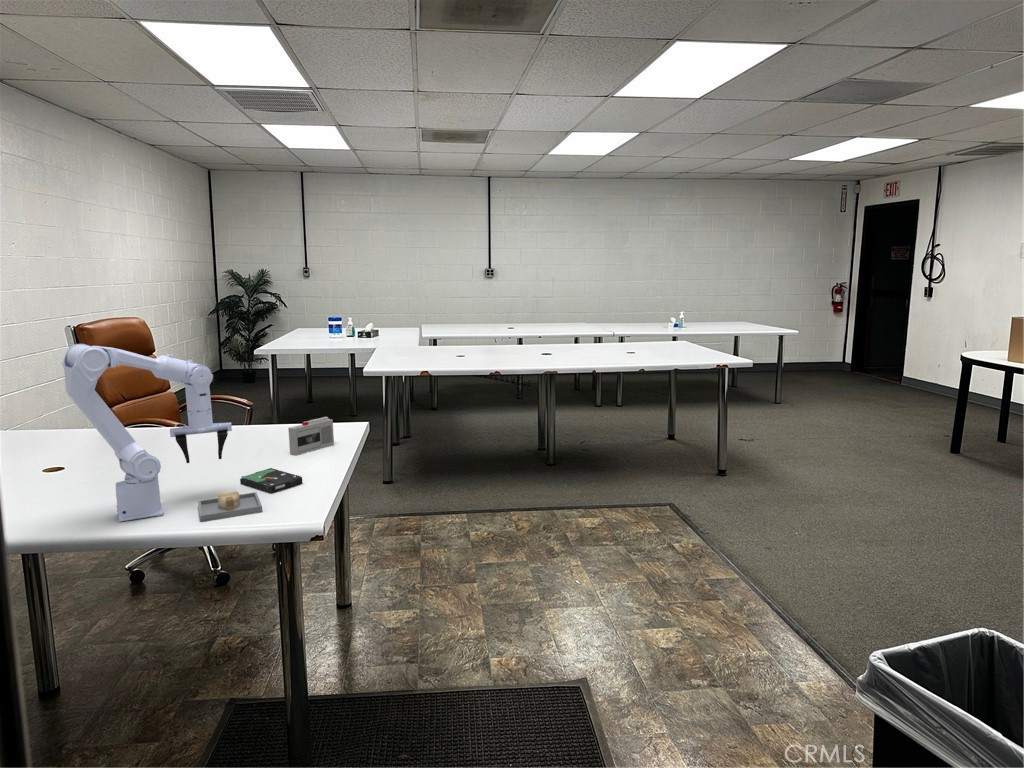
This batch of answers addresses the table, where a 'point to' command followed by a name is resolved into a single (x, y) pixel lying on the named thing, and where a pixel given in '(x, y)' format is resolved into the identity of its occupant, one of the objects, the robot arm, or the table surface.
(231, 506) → the tabbed cylinder
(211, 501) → the tray
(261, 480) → the disk drive
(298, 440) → the cassette player
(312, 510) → the table surface
